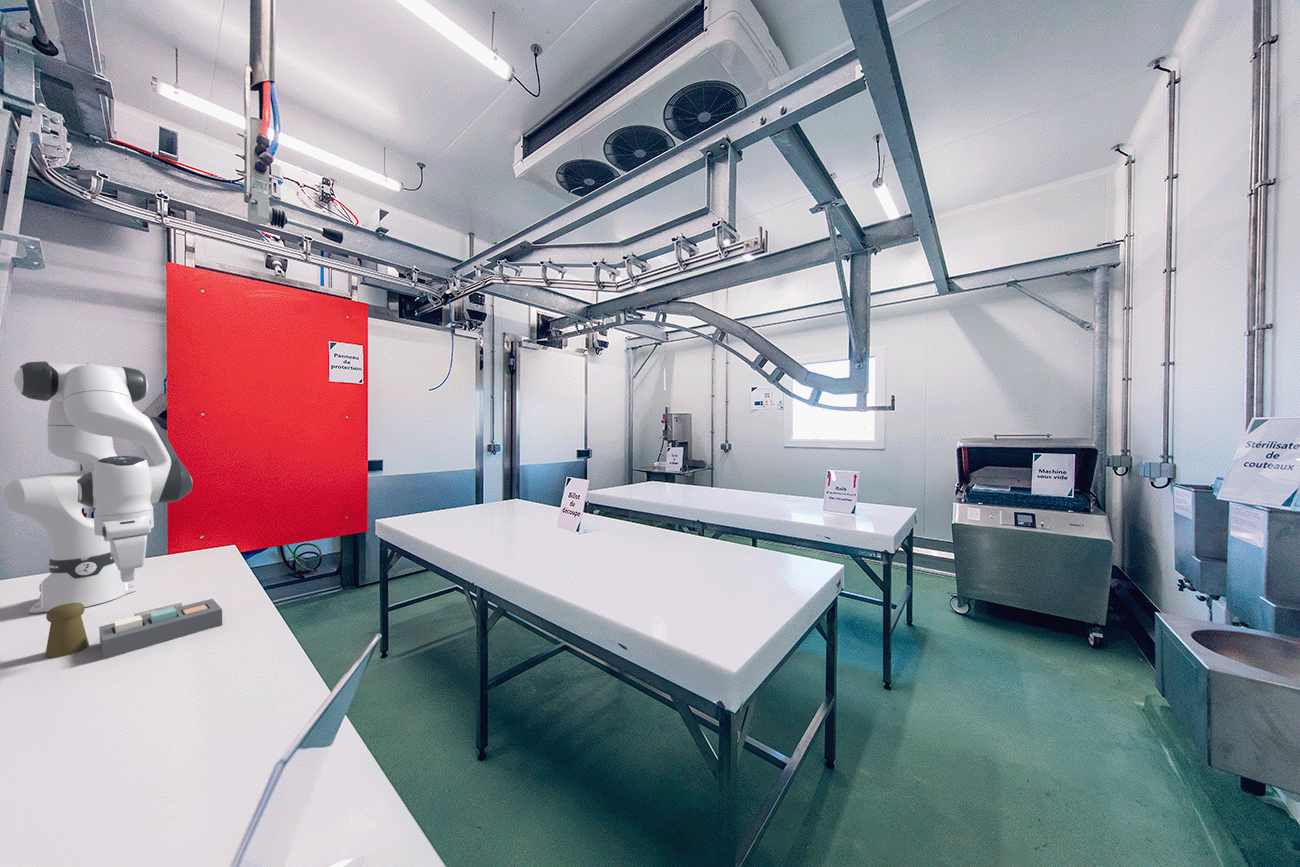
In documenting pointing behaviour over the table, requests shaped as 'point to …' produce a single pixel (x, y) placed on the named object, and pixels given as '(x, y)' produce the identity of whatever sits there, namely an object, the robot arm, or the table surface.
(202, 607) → the terracotta key
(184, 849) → the table surface
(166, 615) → the teal key
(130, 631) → the keypad
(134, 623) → the cream key
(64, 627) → the cork
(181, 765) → the table surface
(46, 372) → the robot arm
